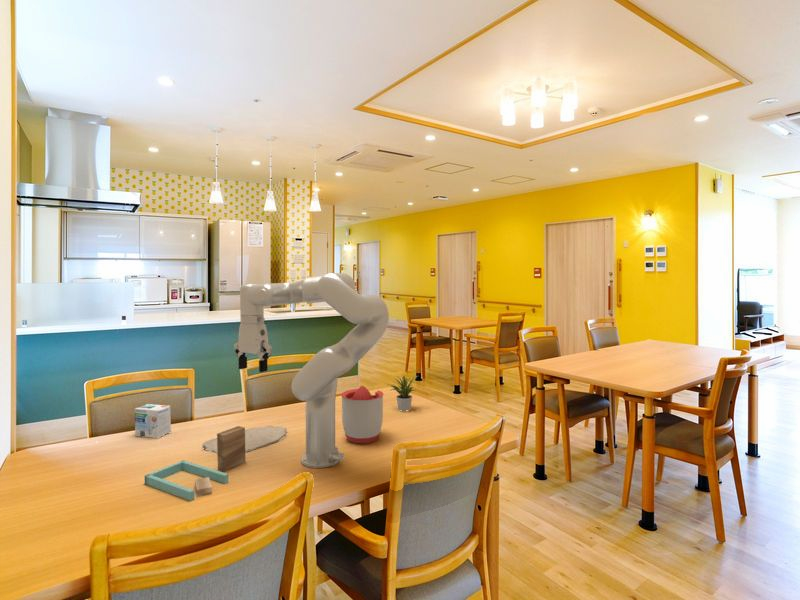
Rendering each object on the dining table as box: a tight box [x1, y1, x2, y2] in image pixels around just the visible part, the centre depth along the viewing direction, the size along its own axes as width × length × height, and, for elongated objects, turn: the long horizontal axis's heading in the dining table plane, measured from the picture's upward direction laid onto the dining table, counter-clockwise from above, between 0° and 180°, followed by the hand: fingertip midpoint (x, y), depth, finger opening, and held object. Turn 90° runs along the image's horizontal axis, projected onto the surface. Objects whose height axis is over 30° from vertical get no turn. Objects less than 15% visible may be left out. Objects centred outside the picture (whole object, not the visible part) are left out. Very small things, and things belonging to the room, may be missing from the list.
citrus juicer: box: [340, 385, 384, 445], centre depth 165 cm, size 16×17×20 cm
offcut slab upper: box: [194, 477, 213, 497], centre depth 123 cm, size 4×7×2 cm, turn 30°
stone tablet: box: [202, 425, 287, 454], centre depth 161 cm, size 16×30×2 cm, turn 136°
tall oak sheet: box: [216, 425, 246, 473], centre depth 138 cm, size 3×8×12 cm, turn 150°
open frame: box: [144, 459, 229, 502], centre depth 127 cm, size 20×12×4 cm, turn 61°
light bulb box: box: [134, 403, 172, 439], centre depth 168 cm, size 11×7×11 cm, turn 76°
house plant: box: [387, 374, 419, 411], centre depth 201 cm, size 14×14×16 cm
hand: (253, 370), depth 151 cm, fingers open, 9 cm apart
